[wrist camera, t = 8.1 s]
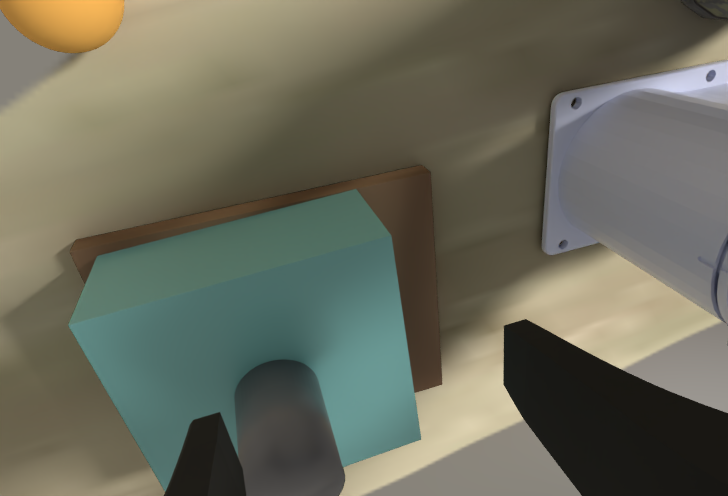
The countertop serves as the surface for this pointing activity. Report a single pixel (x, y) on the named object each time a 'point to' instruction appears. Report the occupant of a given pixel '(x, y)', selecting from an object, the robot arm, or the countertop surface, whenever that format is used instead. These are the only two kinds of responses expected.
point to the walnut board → (393, 208)
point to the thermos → (709, 8)
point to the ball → (65, 22)
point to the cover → (259, 342)
